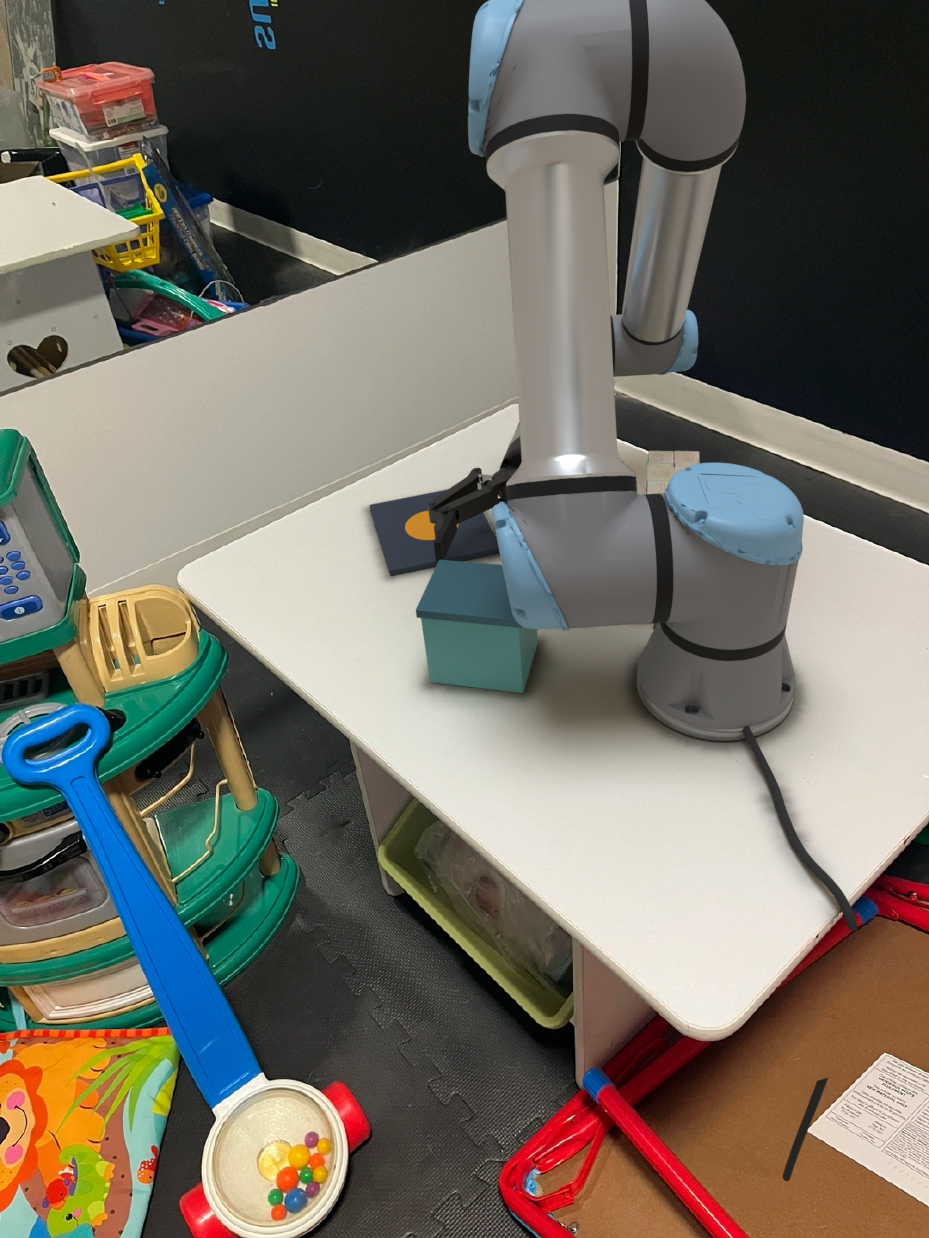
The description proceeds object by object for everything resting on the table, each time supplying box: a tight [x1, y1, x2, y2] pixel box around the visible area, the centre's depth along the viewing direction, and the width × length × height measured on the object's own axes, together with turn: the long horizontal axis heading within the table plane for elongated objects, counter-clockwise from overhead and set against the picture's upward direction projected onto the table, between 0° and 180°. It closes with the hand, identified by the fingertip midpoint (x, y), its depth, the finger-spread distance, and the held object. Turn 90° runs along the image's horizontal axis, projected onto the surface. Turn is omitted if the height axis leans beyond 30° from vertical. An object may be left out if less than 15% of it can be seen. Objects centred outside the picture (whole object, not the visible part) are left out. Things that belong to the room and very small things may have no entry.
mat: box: [369, 488, 500, 577], centre depth 118 cm, size 16×14×1 cm
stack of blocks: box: [645, 450, 701, 494], centre depth 105 cm, size 21×6×12 cm, turn 169°
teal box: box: [415, 560, 539, 694], centre depth 95 cm, size 9×11×10 cm
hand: (497, 558), depth 99 cm, fingers open, 13 cm apart
